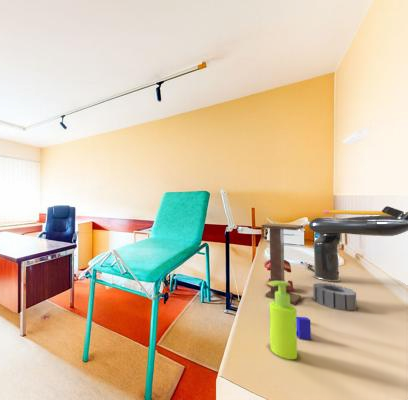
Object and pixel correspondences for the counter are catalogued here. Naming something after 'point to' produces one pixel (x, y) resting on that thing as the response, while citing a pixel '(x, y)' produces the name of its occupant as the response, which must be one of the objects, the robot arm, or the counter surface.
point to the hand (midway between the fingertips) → (384, 208)
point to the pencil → (355, 212)
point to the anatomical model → (287, 268)
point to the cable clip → (303, 328)
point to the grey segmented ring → (334, 296)
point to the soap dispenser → (283, 323)
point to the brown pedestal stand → (279, 257)
